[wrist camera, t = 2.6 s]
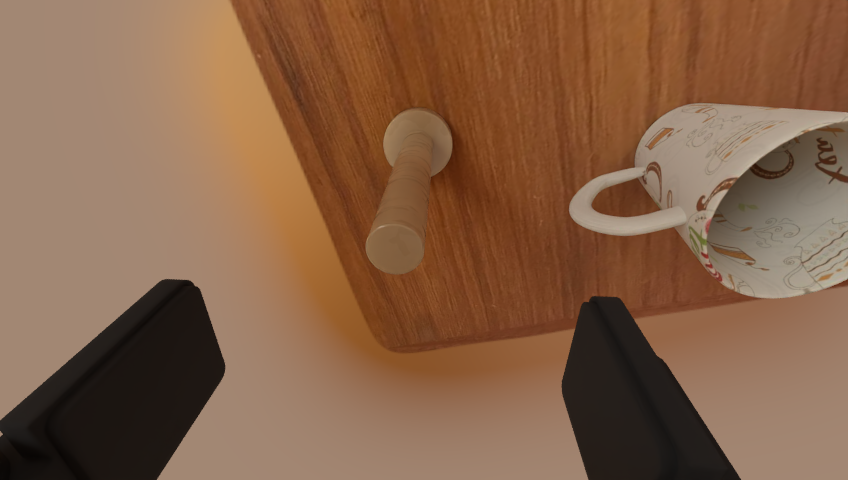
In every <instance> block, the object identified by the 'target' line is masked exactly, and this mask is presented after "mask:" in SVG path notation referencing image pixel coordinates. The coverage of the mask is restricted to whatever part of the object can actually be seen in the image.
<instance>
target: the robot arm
mask: <svg viewBox="0 0 848 480" xmlns="http://www.w3.org/2000/svg"><path fill="white" fill-rule="evenodd" d="M224 373H225V363H224V359H223V357H222V354H221V351H220V348H219V345H218V342H217V339H216V336H215V333H214V330H213V327H212V324H211V321H210V318H209V315H208V312H207V309H206V306H205V303H204V300H203V297H202V294H201V291H200V289H199V288H198V287H196V286H194V284H193V283H192V282H191V281H189V280H174V279H173V280H172V279H165V280H162V281H160V282H159V283H158V284H156V285H155V286H154V287H153V288H152V289H151V290H150V291H148V292H147V293H146V294H145V295H144V296H143V297H141V298H140V299H139V300H138V301H137V302H136V303H135V304H133V305H132V306H131V307H130V308H129V309H128V310H127V311H125V312H124V313H123V314H122V315H121V316H120V317H118V319H116V320H115V321H114V322H113V323H112V324H110V325H109V326H108V327H107V328H106V329H105V330H104V331H102V333H100V334H99V335H98V336H97V337H96V338H95V339H93V340H92V341H91V342H90V343H89V344H88V345H86V346H85V347H84V348H83V349H82V350H81V351H79V352H78V353H77V354H76V355H75V356H74V357H73V358H71V359H70V360H69V361H68V362H67V363H66V364H65V365H63V366H62V367H61V368H60V369H59V370H58V371H56V372H55V373H54V374H53V375H52V376H51V377H50V378H48V379H47V380H46V381H45V382H44V383H43V384H42V385H41V386H39V387H38V388H37V389H36V390H35V391H33V393H31V394H30V395H29V396H28V397H27V398H25V399H24V400H23V401H22V402H21V403H20V404H19V405H17V406H16V407H15V408H14V409H13V410H12V411H11V412H9V413H8V414H7V415H6V416H5V417H4V418H2V420H0V431H1V432H2V433H3V435H2V436H1V437H0V480H157V478H158V477H159V475H160V473H161V472H162V470H163V469H164V467H165V466H166V464H167V463H168V461H169V460H170V458H171V457H172V455H173V454H174V452H175V451H176V449H177V447H178V446H179V444H180V443H181V441H182V440H183V438H184V437H185V435H186V434H187V432H188V430H189V429H190V427H191V426H192V424H193V423H194V421H195V420H196V418H197V417H198V415H199V414H200V412H201V410H202V409H203V407H204V406H205V404H206V403H207V401H208V400H209V398H210V397H211V395H212V394H213V392H214V391H215V389H216V387H217V386H218V384H219V383H220V381H221V380H222V378H223V376H224ZM562 394H563V398H564V401H565V405H566V408H567V411H568V414H569V418H570V421H571V424H572V428H573V431H574V434H575V437H576V441H577V444H578V447H579V450H580V454H581V457H582V460H583V463H584V467H585V470H586V473H587V476H588V479H589V480H741V479H740V478H739V476H738V474H737V472H736V471H735V469H734V468H733V466H732V465H731V463H730V462H729V460H728V459H727V457H726V456H725V454H724V452H723V451H722V449H721V448H720V446H719V445H718V443H717V442H716V440H715V438H714V437H713V435H712V434H711V433H710V431H709V429H708V428H707V426H706V425H705V423H704V421H703V420H702V419H701V417H700V415H699V414H698V412H697V411H696V409H695V408H694V406H693V405H692V403H691V401H690V400H689V398H688V397H687V395H686V394H685V392H684V391H683V389H682V387H681V386H680V384H679V383H678V381H677V380H676V378H675V377H674V375H673V374H672V372H671V371H670V369H669V367H668V366H667V364H666V363H665V362H664V361H663V360H662V359H661V358H659V357H658V356H657V355H656V354H655V352H654V351H653V349H652V348H651V346H650V344H649V343H648V341H647V340H646V338H645V337H644V335H643V333H642V332H641V330H640V329H639V327H638V325H637V324H636V323H635V321H634V319H633V318H632V316H631V314H630V313H629V311H628V310H627V308H626V307H625V305H624V303H623V302H622V300H621V299H620V298H618V297H600V296H593V297H591V299H590V300H589V302H584V303H583V304H582V306H581V309H580V313H579V317H578V321H577V325H576V328H575V332H574V336H573V340H572V344H571V348H570V352H569V356H568V360H567V364H566V368H565V372H564V376H563V380H562Z"/></svg>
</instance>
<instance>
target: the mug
mask: <svg viewBox="0 0 848 480" xmlns="http://www.w3.org/2000/svg"><path fill="white" fill-rule="evenodd" d="M635 178H638V179H639V181H640V182H641V184H642V185H643V187H644V188H645V190H646V191H647V192H648V193H649V195H650V196H651V197H652V199H653V200H654V201H655V203H656V204H657V205H658V207H659V208H660V209H661V211H657V212H653V213H650V214H646V215H641V216H636V217H616V216H609V215H605V214H601V213H598V212H596V211H595V210H594V209H593V208H592V202H593V200H594V198H595V197H596V195H597V194H598V193H599V192H600V191H601V190H603V189H605V188H607V187H610V186H613V185H616V184H619V183H623V182H626V181H629V180H633V179H635ZM569 213H570V215H571V217H572V219H573V220H574V221H575V222H576V223H578V224H579V225H581V226H583V227H584V228H587V229H590V230H592V231H596V232H599V233H604V234H609V235H618V236H632V235H639V234H645V233H650V232H655V231H659V230H664V229H668V228H672V227H674V228H675V229H676V230H677V232H678V233H679V234H680V236H681V237H682V238H683V240H684V241H685V242H686V244H687V245H688V246H689V248H690V249H691V250H692V252H693V253H694V254H695V256H696V257H697V258H698V260H699V261H700V262H701V263H702V265H703V266H704V267H705V268H706V270H707V271H708V272H709V273H710V274H711V275H712V276H713V277H714V278H715V279H716V280H717V281H719V282H720V283H721V284H723V285H724V286H726V287H727V288H729V289H731V290H733V291H735V292H737V293H740V294H743V295H747V296H752V297H758V298H788V297H794V296H800V295H805V294H809V293H813V292H816V291H819V290H822V289H825V288H828V287H831V286H833V285H836V284H838V283H840V282H842V281H844V280H846V279H848V113H847V112H832V111H817V110H802V109H787V108H772V107H757V106H743V105H728V104H713V103H695V104H688V105H684V106H681V107H678V108H676V109H674V110H672V111H670V112H668V113H666V114H665V115H663V116H662V117H660V118H659V119H658V120H657V121H655V122H654V123H653V124H652V125H651V126H650V128H649V129H648V130H647V131H646V133H645V134H644V135H643V137H642V139H641V141H640V142H639V145H638V147H637V150H636V154H635V168H630V169H625V170H621V171H617V172H613V173H609V174H605V175H601V176H599V177H597V178H595V179H593V180H591V181H590V182H588V183H587V184H586V185H585V186H583V187H582V188H581V189H580V190H579V191H578V192H577V193H576V194H575V196H574V197H573V199H572V200H571V203H570V206H569Z"/></svg>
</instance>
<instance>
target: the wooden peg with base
mask: <svg viewBox="0 0 848 480" xmlns="http://www.w3.org/2000/svg"><path fill="white" fill-rule="evenodd" d="M383 147H384V153H385V156H386V158H387V160H388V162H389V164H390V165H391V166H392V167H393V169H392V172H391V175H390V177H389V180H388V183H387V186H386V188H385V191H384V194H383V197H382V199H381V202H380V205H379V208H378V210H377V213H376V216H375V219H374V221H373V224H372V227H371V230H370V232H369V235H368V238H367V241H366V253H367V256H368V258H369V260H370V261H371V263H372V264H373V265H374V266H375V267H376V268H378V269H379V270H381V271H383V272H386V273H389V274H404V273H407V272H410V271H412V270H413V269H415V268H416V267H417V266H418V265H419V264H420V263H421V261H422V259H423V256H424V249H425V238H426V227H427V215H428V204H429V193H430V181H431V177H432V176H434V175H436V174H437V173H439V172H440V171H441V170H442V169H443V168H444V167H445V166H446V165H447V163H448V161H449V159H450V157H451V154H452V147H453V143H452V134H451V131H450V128H449V126H448V124H447V123H446V121H445V120H444V119H443V118H442V117H441V116H440V115H439V114H437V113H436V112H434V111H432V110H430V109H426V108H420V107H417V108H410V109H407V110H404V111H402V112H401V113H399V114H398V115H396V116H395V117H394V118H393V120H392V121H391V122H390V124H389V126H388V127H387V130H386V132H385V135H384V140H383Z"/></svg>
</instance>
